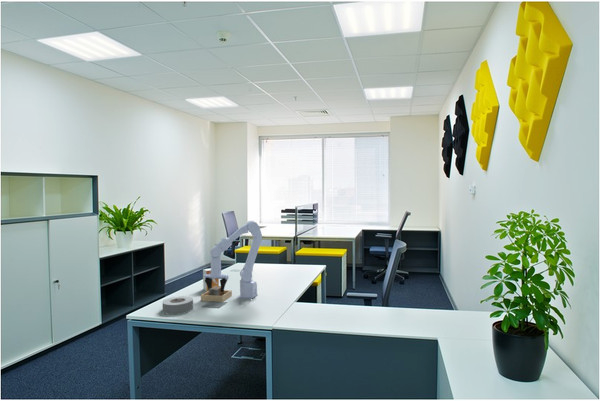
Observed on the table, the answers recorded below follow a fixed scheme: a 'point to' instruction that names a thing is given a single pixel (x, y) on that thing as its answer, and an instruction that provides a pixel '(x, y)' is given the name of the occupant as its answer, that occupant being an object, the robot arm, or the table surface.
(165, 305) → the tape roll
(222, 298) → the shallow wooden tray
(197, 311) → the table surface
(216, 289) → the box
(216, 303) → the panel
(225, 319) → the table surface
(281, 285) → the table surface
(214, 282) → the small box
